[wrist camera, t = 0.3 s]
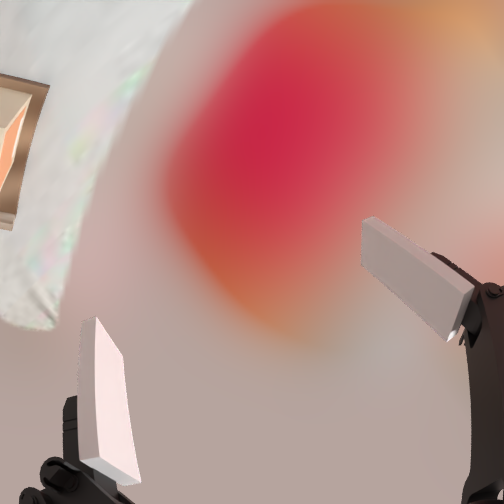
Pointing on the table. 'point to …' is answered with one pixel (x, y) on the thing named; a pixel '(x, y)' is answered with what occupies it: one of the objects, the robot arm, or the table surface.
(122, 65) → the table surface
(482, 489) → the robot arm
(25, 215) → the table surface
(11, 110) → the carton
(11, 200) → the shelf board
